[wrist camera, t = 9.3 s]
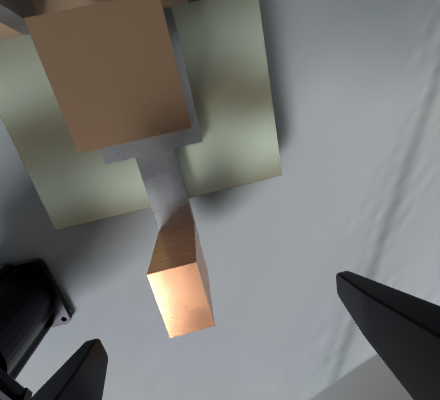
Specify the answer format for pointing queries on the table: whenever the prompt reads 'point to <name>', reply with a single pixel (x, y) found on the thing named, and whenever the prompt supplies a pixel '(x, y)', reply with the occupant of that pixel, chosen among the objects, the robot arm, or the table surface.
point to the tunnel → (187, 155)
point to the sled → (135, 127)
